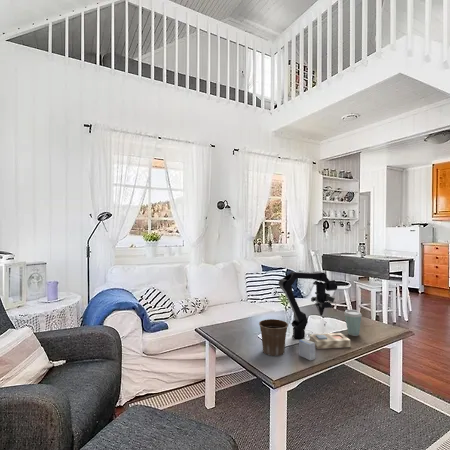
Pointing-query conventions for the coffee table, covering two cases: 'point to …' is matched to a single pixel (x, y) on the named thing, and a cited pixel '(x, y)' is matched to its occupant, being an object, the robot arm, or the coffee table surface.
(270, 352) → the plant pot
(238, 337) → the coffee table surface
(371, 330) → the coffee table surface
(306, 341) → the medicine box
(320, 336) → the blue grey key
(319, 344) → the key console
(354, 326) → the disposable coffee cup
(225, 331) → the coffee table surface
